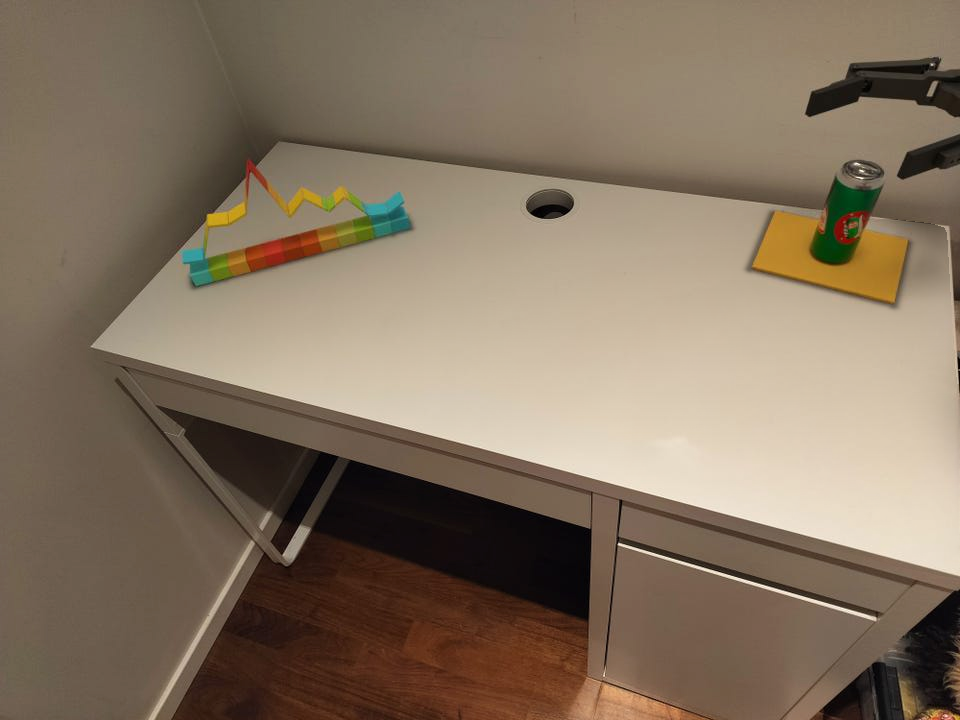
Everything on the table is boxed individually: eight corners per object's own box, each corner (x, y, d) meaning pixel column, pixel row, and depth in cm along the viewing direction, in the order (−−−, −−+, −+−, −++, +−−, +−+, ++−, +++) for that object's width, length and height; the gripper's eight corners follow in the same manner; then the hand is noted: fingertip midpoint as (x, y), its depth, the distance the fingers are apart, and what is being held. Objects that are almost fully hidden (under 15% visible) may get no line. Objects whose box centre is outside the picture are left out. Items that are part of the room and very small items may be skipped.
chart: (405, 215, 98) (384, 121, 86) (410, 228, 96) (389, 133, 84) (195, 271, 94) (144, 180, 82) (196, 286, 92) (143, 195, 80)
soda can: (816, 234, 86) (846, 152, 77) (858, 247, 84) (894, 163, 75) (803, 257, 83) (832, 175, 74) (845, 271, 81) (881, 188, 72)
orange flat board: (907, 241, 84) (908, 239, 84) (893, 304, 78) (894, 302, 77) (774, 212, 90) (775, 210, 90) (751, 268, 84) (752, 266, 83)
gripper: (1104, 166, 68) (934, 229, 65) (914, 67, 84) (769, 112, 80) (1152, 96, 63) (970, 161, 59) (939, 4, 78) (785, 50, 75)
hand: (854, 133), depth 70 cm, fingers open, 13 cm apart
